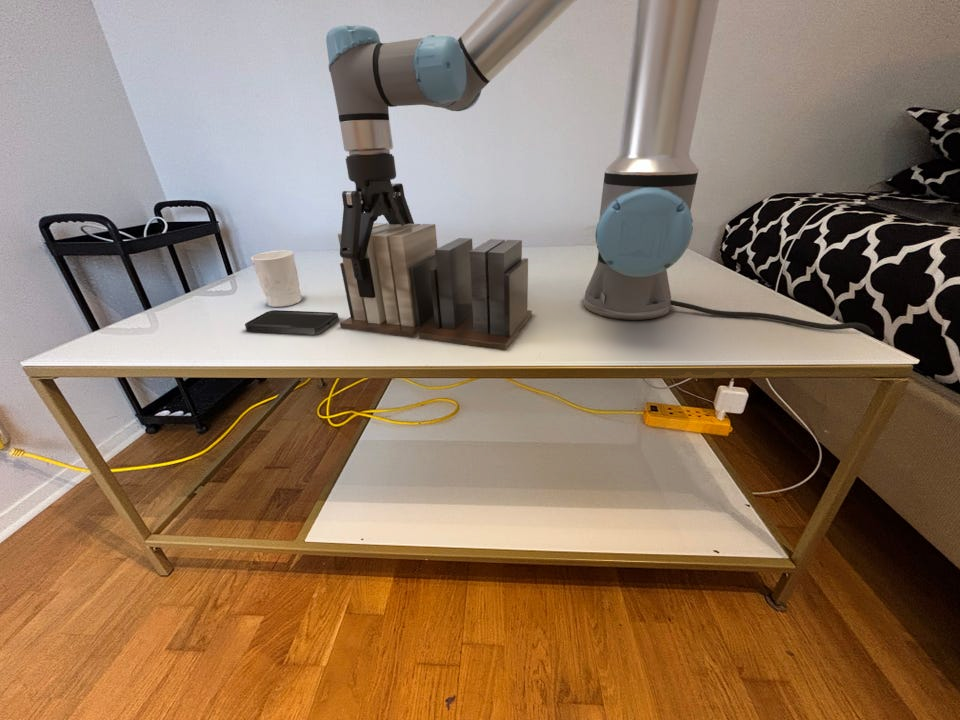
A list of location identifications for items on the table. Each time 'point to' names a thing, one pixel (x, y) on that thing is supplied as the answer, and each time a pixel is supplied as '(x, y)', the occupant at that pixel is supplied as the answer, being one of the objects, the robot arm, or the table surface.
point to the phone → (292, 322)
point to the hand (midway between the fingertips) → (389, 285)
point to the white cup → (278, 277)
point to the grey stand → (479, 293)
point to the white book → (376, 280)
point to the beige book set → (397, 281)
